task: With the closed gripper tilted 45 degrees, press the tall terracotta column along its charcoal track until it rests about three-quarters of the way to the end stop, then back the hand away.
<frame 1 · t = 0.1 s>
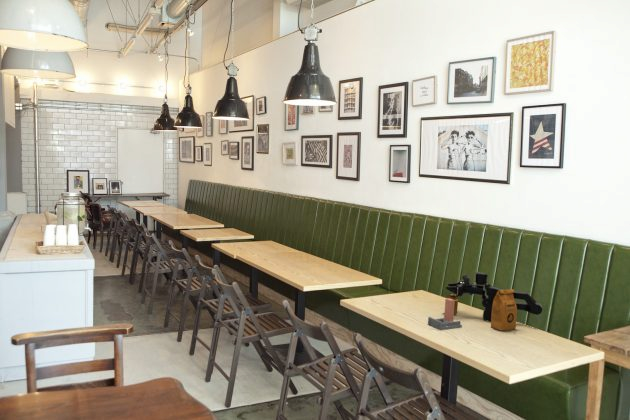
hand: (447, 286, 315), 17 cm above the table, tool horizontal, fingers open, 9 cm apart
track housing: (444, 325, 291), on the table
tall terracotta column: (449, 311, 292), point 8 cm above the table, slide at 0.0 cm
coffee package: (503, 329, 291), on the table
condiment: (450, 314, 315), on the table
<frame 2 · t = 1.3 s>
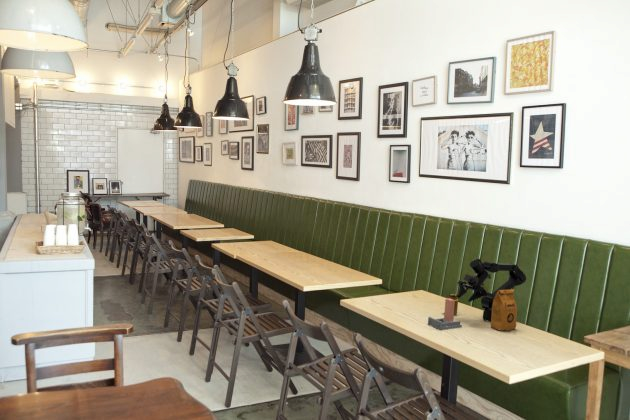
hand: (463, 299, 296), 14 cm above the table, tool tilted 45°, fingers open, 8 cm apart
nothing on the table moved.
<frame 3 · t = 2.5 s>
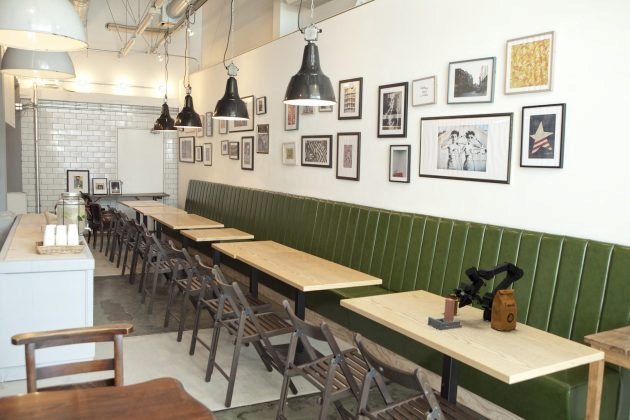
hand: (458, 307, 295), 9 cm above the table, tool tilted 45°, fingers closed
nothing on the table moved.
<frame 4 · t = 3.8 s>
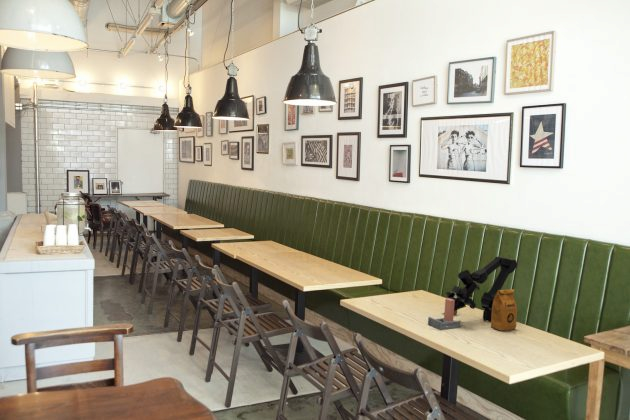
hand: (451, 311, 292), 8 cm above the table, tool tilted 45°, fingers closed, pressing on tall terracotta column
tall terracotta column: (449, 311, 292), point 8 cm above the table, slide at 0.0 cm, touching gripper
everything else where it was.
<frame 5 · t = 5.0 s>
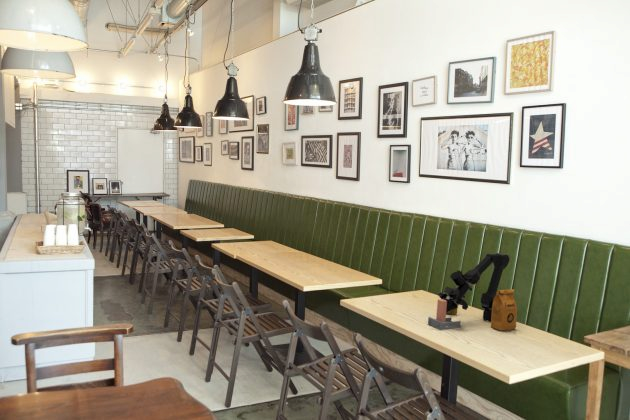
hand: (443, 312, 290), 8 cm above the table, tool tilted 45°, fingers closed, pressing on tall terracotta column
tall terracotta column: (441, 312, 289), point 8 cm above the table, slide at 5.6 cm, touching gripper
everything else where it was.
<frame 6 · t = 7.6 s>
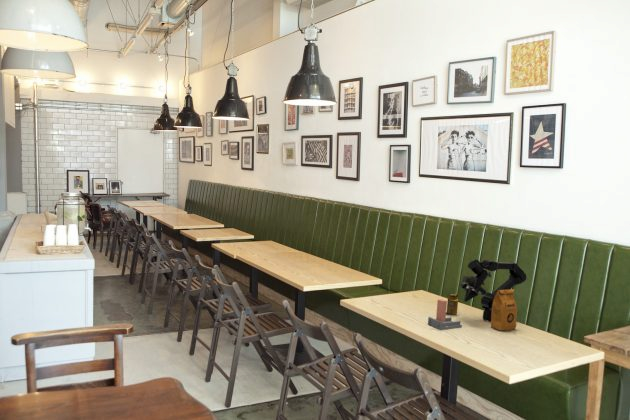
hand: (464, 301, 298), 12 cm above the table, tool tilted 40°, fingers closed
tall terracotta column: (441, 312, 289), point 8 cm above the table, slide at 5.7 cm
everything else where it was.
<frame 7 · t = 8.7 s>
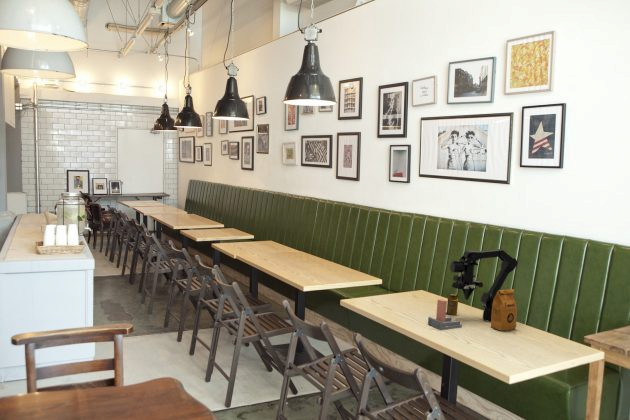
hand: (466, 299, 303), 12 cm above the table, tool pointing down, fingers closed
nothing on the table moved.
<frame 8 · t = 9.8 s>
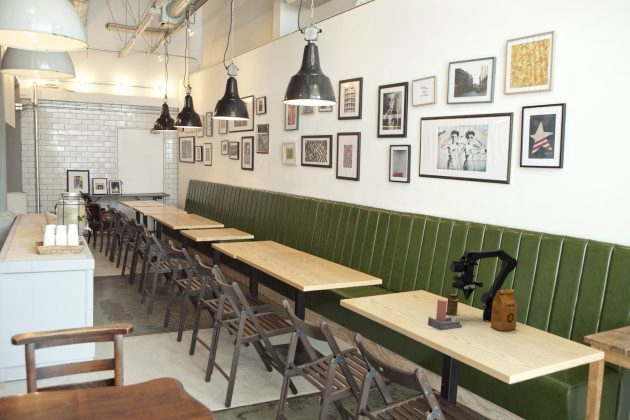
hand: (466, 299, 303), 12 cm above the table, tool pointing down, fingers closed
nothing on the table moved.
at the end: tall terracotta column slide at 5.7 cm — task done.
